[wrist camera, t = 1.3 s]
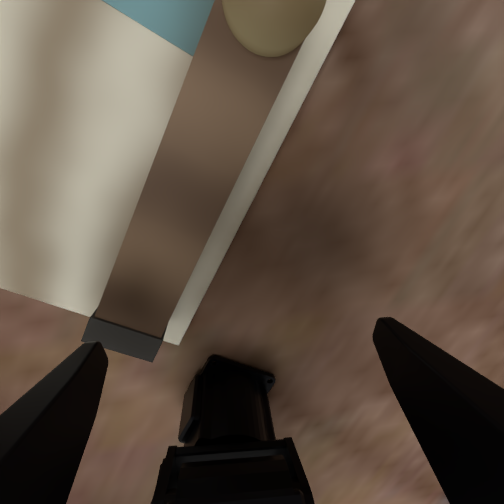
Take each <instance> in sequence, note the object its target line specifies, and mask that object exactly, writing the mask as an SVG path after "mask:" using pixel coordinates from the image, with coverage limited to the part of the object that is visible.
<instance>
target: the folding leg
mask: <svg viewBox="0 0 504 504" xmlns="http://www.w3.org/2000/svg"><path fill="white" fill-rule="evenodd" d="M325 4H326V0H215V1H214V3H213V6H212V8H211V11H210V14H209V16H208V19H207V22H206V24H205V27H204V29H203V32H202V35H201V37H200V40H199V43H198V45H197V48H196V51H195V53H194V56H193V58H192V61H191V64H190V66H189V69H188V72H187V74H186V77H185V79H184V82H183V85H182V87H181V90H180V93H179V95H178V98H177V100H176V103H175V106H174V108H173V111H172V114H171V116H170V119H169V122H168V124H167V127H166V129H165V132H164V135H163V137H162V140H161V143H160V145H159V148H158V150H157V153H156V156H155V158H154V161H153V164H152V166H151V169H150V171H149V174H148V177H147V179H146V182H145V185H144V187H143V190H142V193H141V195H140V198H139V200H138V203H137V206H136V208H135V211H134V214H133V216H132V219H131V221H130V224H129V227H128V229H127V232H126V235H125V237H124V240H123V242H122V245H121V248H120V250H119V253H118V256H117V258H116V261H115V264H114V266H113V269H112V271H111V274H110V277H109V279H108V282H107V285H106V287H105V290H104V292H103V295H102V298H101V300H100V303H99V306H98V307H97V309H96V310H95V311H94V313H93V314H92V315H91V317H90V319H89V321H88V324H87V327H86V329H85V332H84V335H83V337H82V340H81V341H82V342H91V341H99V342H101V344H102V346H103V348H106V349H109V350H113V351H116V352H119V353H123V354H126V355H129V356H133V357H136V358H139V359H143V360H146V361H149V362H153V360H154V358H155V356H156V354H157V352H158V350H159V348H160V346H161V344H162V341H163V339H164V335H165V332H166V329H167V325H168V322H169V320H170V318H171V316H172V314H173V312H174V310H175V307H176V305H177V303H178V301H179V299H180V297H181V295H182V293H183V291H184V289H185V287H186V285H187V283H188V281H189V278H190V276H191V274H192V272H193V270H194V268H195V266H196V264H197V262H198V260H199V258H200V256H201V254H202V251H203V249H204V247H205V245H206V243H207V241H208V239H209V237H210V235H211V233H212V231H213V229H214V227H215V225H216V222H217V220H218V218H219V216H220V214H221V212H222V210H223V208H224V206H225V204H226V202H227V200H228V198H229V196H230V193H231V191H232V189H233V187H234V185H235V183H236V181H237V179H238V177H239V175H240V173H241V171H242V169H243V167H244V164H245V162H246V160H247V158H248V156H249V154H250V152H251V150H252V148H253V146H254V144H255V142H256V140H257V138H258V135H259V133H260V131H261V129H262V127H263V125H264V123H265V121H266V119H267V117H268V115H269V113H270V111H271V109H272V106H273V104H274V102H275V100H276V98H277V96H278V94H279V92H280V90H281V88H282V86H283V84H284V82H285V80H286V77H287V75H288V73H289V71H290V69H291V67H292V65H293V63H294V61H295V59H296V57H297V55H298V53H299V51H300V48H301V46H302V44H303V42H304V40H305V38H306V37H307V36H308V35H309V33H310V32H311V31H312V30H313V28H314V27H315V25H316V24H317V22H318V20H319V19H320V17H321V15H322V12H323V10H324V7H325Z"/></svg>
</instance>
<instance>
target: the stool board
mask: <svg viewBox="0 0 504 504" xmlns="http://www.w3.org/2000/svg"><path fill="white" fill-rule="evenodd" d="M214 1H215V0H0V288H2V289H5V290H8V291H11V292H14V293H17V294H21V295H24V296H27V297H30V298H33V299H36V300H39V301H42V302H45V303H48V304H51V305H55V306H58V307H61V308H64V309H67V310H70V311H73V312H76V313H79V314H82V315H86V316H89V317H91V315H92V314H93V313H94V311H95V310H96V309H97V307H98V306H99V303H100V300H101V298H102V295H103V292H104V290H105V287H106V285H107V282H108V279H109V277H110V274H111V271H112V269H113V266H114V264H115V261H116V258H117V256H118V253H119V250H120V248H121V245H122V242H123V240H124V237H125V235H126V232H127V229H128V227H129V224H130V221H131V219H132V216H133V214H134V211H135V208H136V206H137V203H138V200H139V198H140V195H141V193H142V190H143V187H144V185H145V182H146V179H147V177H148V174H149V171H150V169H151V166H152V164H153V161H154V158H155V156H156V153H157V150H158V148H159V145H160V143H161V140H162V137H163V135H164V132H165V129H166V127H167V124H168V122H169V119H170V116H171V114H172V111H173V108H174V106H175V103H176V100H177V98H178V95H179V93H180V90H181V87H182V85H183V82H184V79H185V77H186V74H187V72H188V69H189V66H190V64H191V61H192V58H193V56H194V53H195V51H196V48H197V45H198V43H199V40H200V37H201V35H202V32H203V29H204V27H205V24H206V22H207V19H208V16H209V14H210V11H211V8H212V6H213V3H214ZM354 2H355V0H326V4H325V7H324V10H323V12H322V15H321V17H320V19H319V20H318V22H317V24H316V25H315V27H314V28H313V30H312V31H311V32H310V33H309V35H308V36H307V37H306V38H305V40H304V42H303V44H302V46H301V48H300V51H299V53H298V55H297V57H296V59H295V61H294V63H293V65H292V67H291V69H290V71H289V73H288V75H287V77H286V80H285V82H284V84H283V86H282V88H281V90H280V92H279V94H278V96H277V98H276V100H275V102H274V104H273V106H272V109H271V111H270V113H269V115H268V117H267V119H266V121H265V123H264V125H263V127H262V129H261V131H260V133H259V135H258V138H257V140H256V142H255V144H254V146H253V148H252V150H251V152H250V154H249V156H248V158H247V160H246V162H245V164H244V167H243V169H242V171H241V173H240V175H239V177H238V179H237V181H236V183H235V185H234V187H233V189H232V191H231V193H230V196H229V198H228V200H227V202H226V204H225V206H224V208H223V210H222V212H221V214H220V216H219V218H218V220H217V222H216V225H215V227H214V229H213V231H212V233H211V235H210V237H209V239H208V241H207V243H206V245H205V247H204V249H203V251H202V254H201V256H200V258H199V260H198V262H197V264H196V266H195V268H194V270H193V272H192V274H191V276H190V278H189V281H188V283H187V285H186V287H185V289H184V291H183V293H182V295H181V297H180V299H179V301H178V303H177V305H176V307H175V310H174V312H173V314H172V316H171V318H170V320H169V322H168V325H167V329H166V332H165V335H164V339H163V341H166V342H169V343H172V344H175V345H179V343H180V341H181V340H182V338H183V336H184V334H185V332H186V330H187V328H188V326H189V324H190V322H191V320H192V318H193V316H194V314H195V312H196V310H197V308H198V306H199V304H200V302H201V300H202V298H203V297H204V295H205V293H206V291H207V289H208V287H209V285H210V283H211V281H212V279H213V277H214V275H215V273H216V271H217V269H218V267H219V265H220V263H221V261H222V259H223V257H224V256H225V254H226V252H227V250H228V248H229V246H230V244H231V242H232V240H233V238H234V236H235V234H236V232H237V230H238V228H239V226H240V224H241V222H242V220H243V218H244V216H245V215H246V213H247V211H248V209H249V207H250V205H251V203H252V201H253V199H254V197H255V195H256V193H257V191H258V189H259V187H260V185H261V183H262V181H263V179H264V177H265V175H266V174H267V172H268V170H269V168H270V166H271V164H272V162H273V160H274V158H275V156H276V154H277V152H278V150H279V148H280V146H281V144H282V142H283V140H284V138H285V136H286V134H287V133H288V131H289V129H290V127H291V125H292V123H293V121H294V119H295V117H296V115H297V113H298V111H299V109H300V107H301V105H302V103H303V101H304V99H305V97H306V95H307V93H308V92H309V90H310V88H311V86H312V84H313V82H314V80H315V78H316V76H317V74H318V72H319V70H320V68H321V66H322V64H323V62H324V60H325V58H326V56H327V54H328V52H329V51H330V49H331V47H332V45H333V43H334V41H335V39H336V37H337V35H338V33H339V31H340V29H341V27H342V25H343V23H344V21H345V19H346V17H347V15H348V13H349V11H350V10H351V8H352V6H353V4H354Z"/></svg>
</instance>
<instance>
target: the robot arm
mask: <svg viewBox="0 0 504 504" xmlns="http://www.w3.org/2000/svg"><path fill="white" fill-rule="evenodd" d="M373 342H374V345H375V347H376V350H377V352H378V355H379V358H380V360H381V363H382V366H383V368H384V371H385V373H386V376H387V378H388V381H389V383H390V386H391V388H392V390H393V392H394V394H395V396H396V398H397V400H398V402H399V404H400V406H401V408H402V410H403V412H404V414H405V416H406V418H407V420H408V422H409V424H410V426H411V428H412V430H413V432H414V434H415V436H416V438H417V440H418V442H419V444H420V446H421V448H422V450H423V452H424V454H425V455H426V457H427V459H428V461H429V463H430V465H431V467H432V469H433V471H434V473H435V475H436V477H437V479H438V481H439V483H440V485H441V487H442V489H443V491H444V493H445V495H446V497H447V499H448V501H449V503H450V504H504V389H503V388H501V387H500V386H498V385H497V384H495V383H494V382H492V381H490V380H489V379H487V378H486V377H484V376H483V375H481V374H479V373H478V372H476V371H475V370H473V369H472V368H470V367H469V366H467V365H465V364H464V363H462V362H461V361H459V360H458V359H456V358H455V357H453V356H451V355H450V354H448V353H447V352H445V351H444V350H442V349H440V348H439V347H437V346H436V345H434V344H433V343H431V342H430V341H428V340H426V339H425V338H423V337H422V336H420V335H419V334H417V333H415V332H414V331H412V330H411V329H409V328H408V327H406V326H405V325H403V324H401V323H400V322H398V321H397V320H395V319H394V318H392V317H382V318H379V319H378V320H377V322H376V325H375V329H374V332H373ZM213 361H215V362H213ZM107 367H108V357H107V355H106V352H105V350H104V348H103V346H102V344H101V342H99V341H91V342H85V343H84V344H82V345H81V346H80V347H79V348H78V349H76V350H75V351H74V352H73V353H72V354H71V355H69V356H68V357H67V358H66V359H65V360H64V361H63V362H61V363H60V364H59V365H58V366H57V367H56V368H54V369H53V370H52V371H51V372H50V373H49V374H47V375H46V376H45V377H44V378H43V379H42V380H40V381H39V382H38V383H37V384H36V385H35V386H34V387H32V388H31V389H30V390H29V391H28V392H27V393H25V394H24V395H23V396H22V397H21V398H20V399H18V400H17V401H16V402H15V403H14V404H13V405H11V406H10V407H9V408H8V409H7V410H6V411H5V412H3V413H2V414H1V415H0V504H66V502H67V499H68V496H69V493H70V491H71V488H72V485H73V482H74V479H75V476H76V473H77V470H78V467H79V464H80V461H81V459H82V456H83V453H84V450H85V447H86V444H87V441H88V438H89V435H90V432H91V429H92V427H93V424H94V420H95V417H96V414H97V410H98V406H99V402H100V398H101V393H102V389H103V385H104V380H105V376H106V372H107ZM269 379H271V380H269ZM274 383H275V376H274V375H273V374H271V373H268V372H264V371H261V370H258V369H255V368H252V367H249V366H246V365H243V364H240V363H237V362H234V361H231V360H227V359H224V358H221V357H218V356H211V357H209V358H208V360H207V362H206V364H205V365H204V367H203V369H202V371H201V373H200V374H197V375H196V376H195V377H194V379H193V381H192V382H191V384H190V386H189V388H188V390H187V391H186V393H185V395H184V401H183V408H182V415H181V422H180V428H179V435H178V439H179V441H180V442H182V443H184V447H177V446H169V447H168V451H167V455H166V458H164V459H163V462H162V464H161V465H160V470H159V475H158V480H157V485H156V488H155V492H154V496H153V499H152V501H151V504H315V503H314V499H313V495H312V492H311V489H310V486H309V483H308V480H307V478H306V475H305V472H304V470H303V467H302V464H301V462H300V459H299V456H298V453H297V451H296V448H295V445H294V443H293V440H292V437H287V438H284V439H280V440H276V439H275V433H274V428H273V422H272V417H271V412H270V406H269V401H268V395H267V394H268V392H269V391H270V389H271V388H272V386H273V385H274Z"/></svg>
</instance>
